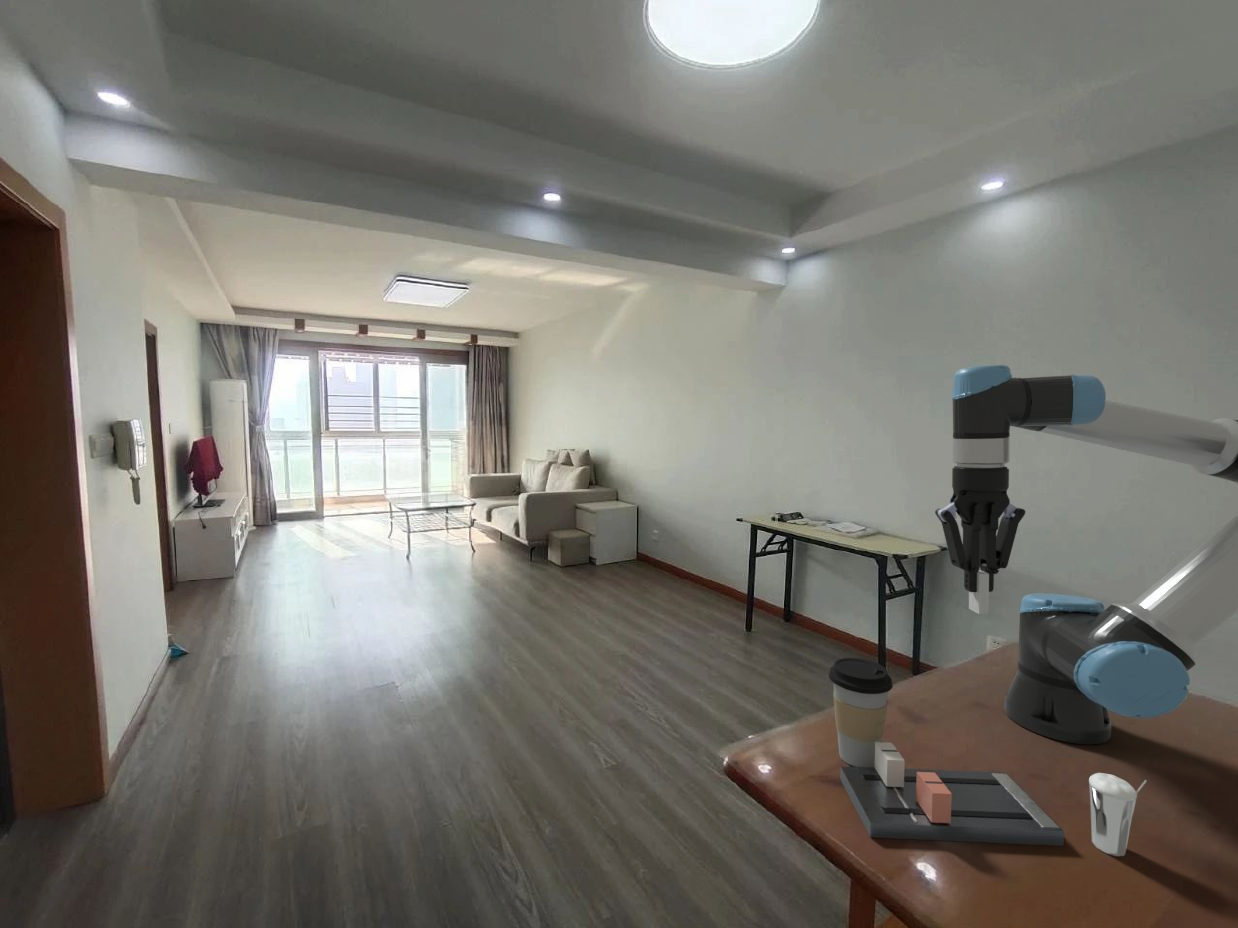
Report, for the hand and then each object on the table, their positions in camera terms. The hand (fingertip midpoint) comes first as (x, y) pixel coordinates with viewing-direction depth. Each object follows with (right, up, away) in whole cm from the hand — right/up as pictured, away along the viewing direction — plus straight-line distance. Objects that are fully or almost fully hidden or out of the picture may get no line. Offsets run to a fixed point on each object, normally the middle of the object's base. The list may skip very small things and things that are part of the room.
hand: (978, 611), depth 89 cm
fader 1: (-18, -22, -8) cm, 30 cm away
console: (-13, -25, -11) cm, 30 cm away
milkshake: (+5, -25, -19) cm, 32 cm away
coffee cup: (-19, -24, +1) cm, 31 cm away
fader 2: (-16, -23, -15) cm, 32 cm away
